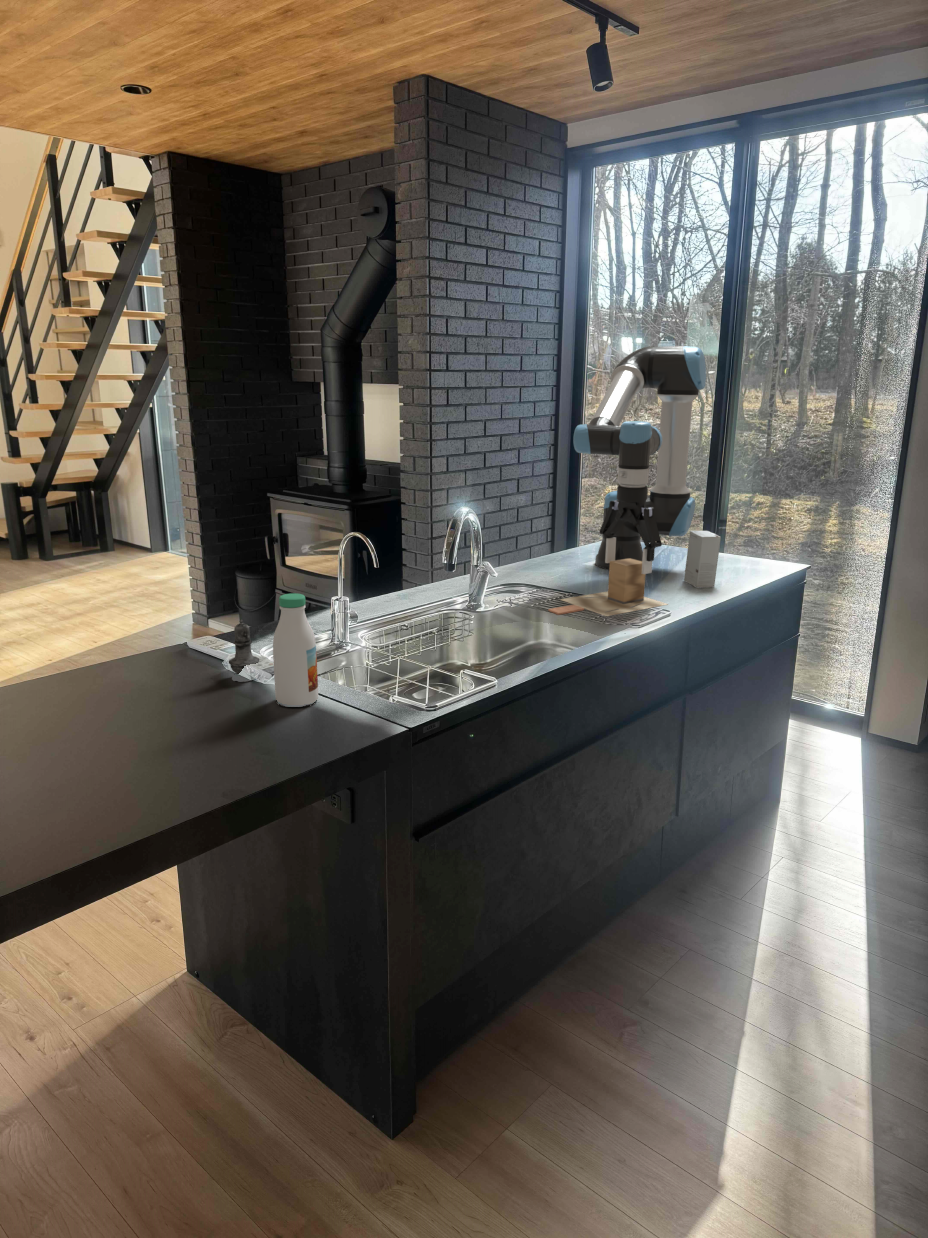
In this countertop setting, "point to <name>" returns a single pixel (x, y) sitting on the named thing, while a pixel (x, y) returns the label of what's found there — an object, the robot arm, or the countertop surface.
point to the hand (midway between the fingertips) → (627, 567)
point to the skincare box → (702, 559)
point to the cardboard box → (626, 581)
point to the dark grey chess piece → (242, 648)
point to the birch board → (610, 604)
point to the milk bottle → (294, 654)
